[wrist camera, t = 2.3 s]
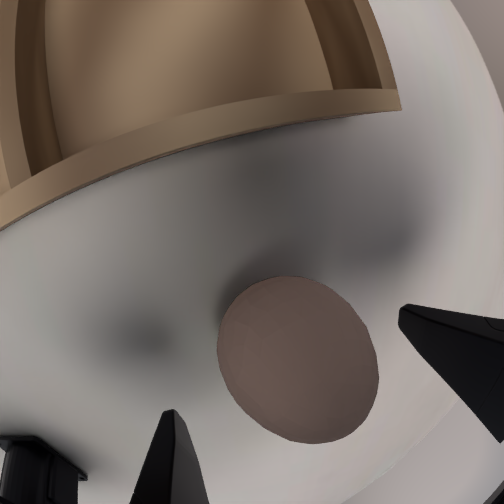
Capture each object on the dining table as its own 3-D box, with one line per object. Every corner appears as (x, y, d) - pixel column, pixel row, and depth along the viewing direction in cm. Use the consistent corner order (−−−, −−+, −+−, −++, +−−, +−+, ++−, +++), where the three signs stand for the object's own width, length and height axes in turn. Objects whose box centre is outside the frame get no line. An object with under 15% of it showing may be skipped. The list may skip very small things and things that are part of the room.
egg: (292, 231, 12) (427, 313, 5) (322, 318, 14) (415, 410, 7) (181, 290, 11) (218, 444, 4) (234, 368, 13) (290, 490, 7)
